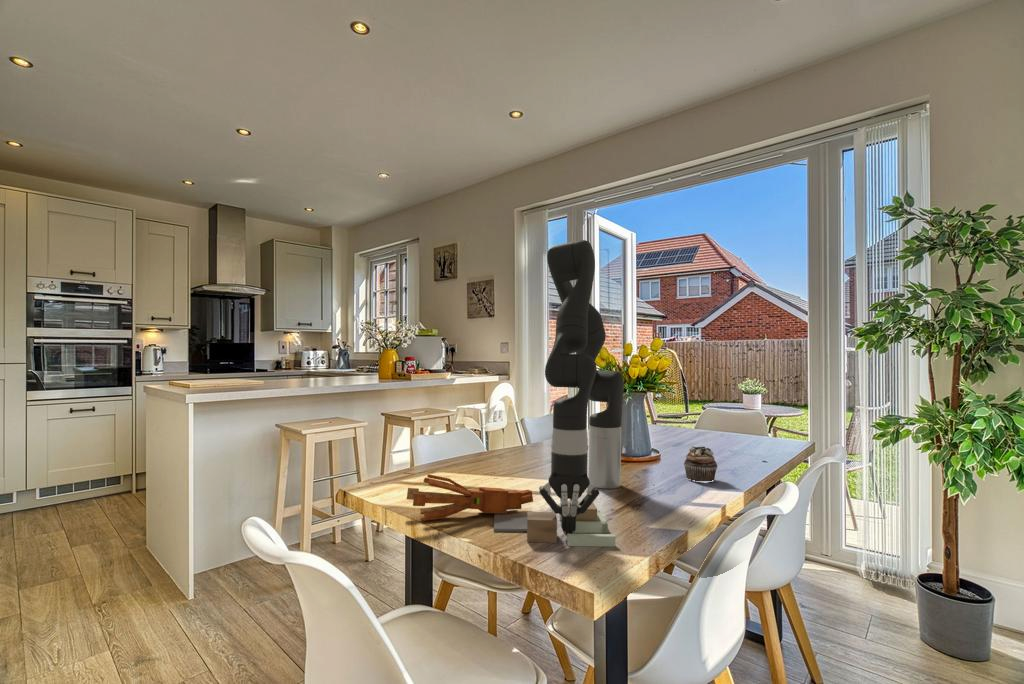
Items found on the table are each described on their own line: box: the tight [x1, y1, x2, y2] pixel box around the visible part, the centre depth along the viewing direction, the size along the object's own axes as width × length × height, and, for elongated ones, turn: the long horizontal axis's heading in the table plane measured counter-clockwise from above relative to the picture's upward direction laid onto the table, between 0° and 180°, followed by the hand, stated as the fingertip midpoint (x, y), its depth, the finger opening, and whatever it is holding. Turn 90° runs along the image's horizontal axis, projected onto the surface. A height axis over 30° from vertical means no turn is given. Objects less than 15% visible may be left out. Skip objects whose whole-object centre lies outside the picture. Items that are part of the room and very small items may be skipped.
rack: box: [558, 501, 616, 547], centre depth 106 cm, size 16×10×4 cm, turn 1°
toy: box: [406, 473, 534, 522], centre depth 116 cm, size 10×11×30 cm
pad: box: [493, 513, 528, 533], centre depth 110 cm, size 9×9×1 cm
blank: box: [526, 511, 558, 544], centre depth 102 cm, size 5×6×4 cm
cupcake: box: [683, 446, 718, 481], centre depth 151 cm, size 10×10×10 cm
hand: (568, 533), depth 102 cm, fingers closed
